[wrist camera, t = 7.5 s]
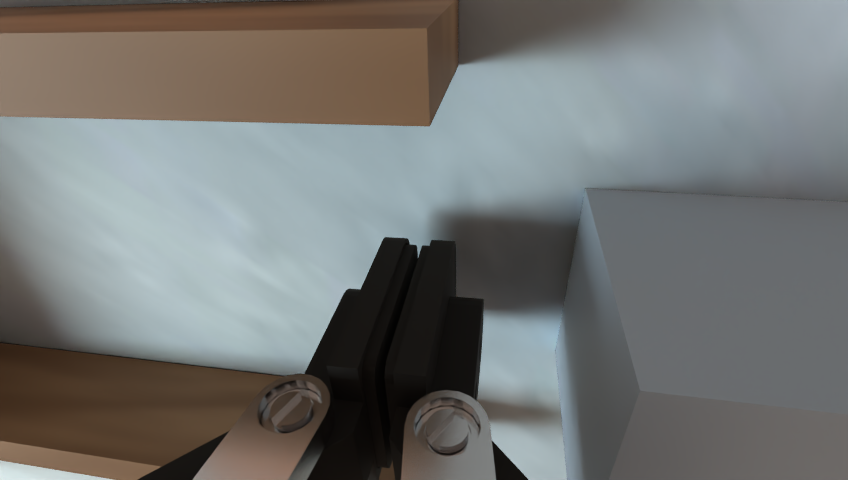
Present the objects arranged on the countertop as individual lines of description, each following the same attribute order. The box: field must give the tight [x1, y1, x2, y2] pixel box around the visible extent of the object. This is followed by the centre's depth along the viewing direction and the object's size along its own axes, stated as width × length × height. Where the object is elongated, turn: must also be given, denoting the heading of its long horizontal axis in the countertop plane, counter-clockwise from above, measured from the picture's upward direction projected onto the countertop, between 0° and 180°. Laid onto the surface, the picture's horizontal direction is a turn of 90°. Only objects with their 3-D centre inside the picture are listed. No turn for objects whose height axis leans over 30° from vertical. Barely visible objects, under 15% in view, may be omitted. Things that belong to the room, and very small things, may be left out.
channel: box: [0, 0, 459, 480], centre depth 11 cm, size 12×19×5 cm, turn 92°
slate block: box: [555, 188, 848, 480], centre depth 9 cm, size 5×6×6 cm
